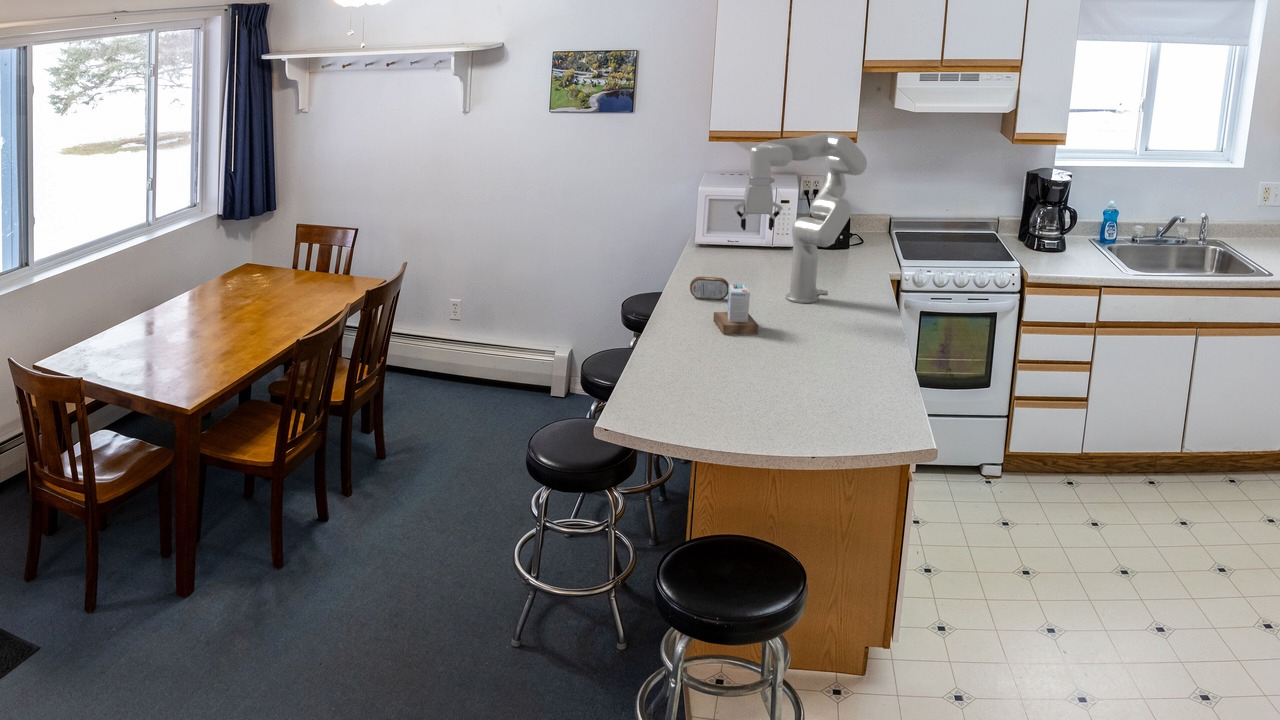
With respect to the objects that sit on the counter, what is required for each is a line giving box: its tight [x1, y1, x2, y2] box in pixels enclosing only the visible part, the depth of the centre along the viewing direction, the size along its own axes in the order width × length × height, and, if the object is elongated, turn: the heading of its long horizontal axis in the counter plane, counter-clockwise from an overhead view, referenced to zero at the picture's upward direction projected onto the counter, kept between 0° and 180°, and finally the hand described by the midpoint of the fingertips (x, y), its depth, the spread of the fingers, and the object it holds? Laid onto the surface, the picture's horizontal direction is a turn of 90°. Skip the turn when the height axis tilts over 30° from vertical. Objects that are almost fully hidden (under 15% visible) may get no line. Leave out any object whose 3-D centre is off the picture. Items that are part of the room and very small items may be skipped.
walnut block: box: [713, 311, 759, 336], centre depth 359 cm, size 12×16×4 cm
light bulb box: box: [726, 284, 751, 322], centre depth 357 cm, size 11×7×11 cm, turn 0°
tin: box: [689, 276, 730, 301], centre depth 393 cm, size 15×3×8 cm, turn 84°
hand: (757, 229), depth 371 cm, fingers open, 9 cm apart
